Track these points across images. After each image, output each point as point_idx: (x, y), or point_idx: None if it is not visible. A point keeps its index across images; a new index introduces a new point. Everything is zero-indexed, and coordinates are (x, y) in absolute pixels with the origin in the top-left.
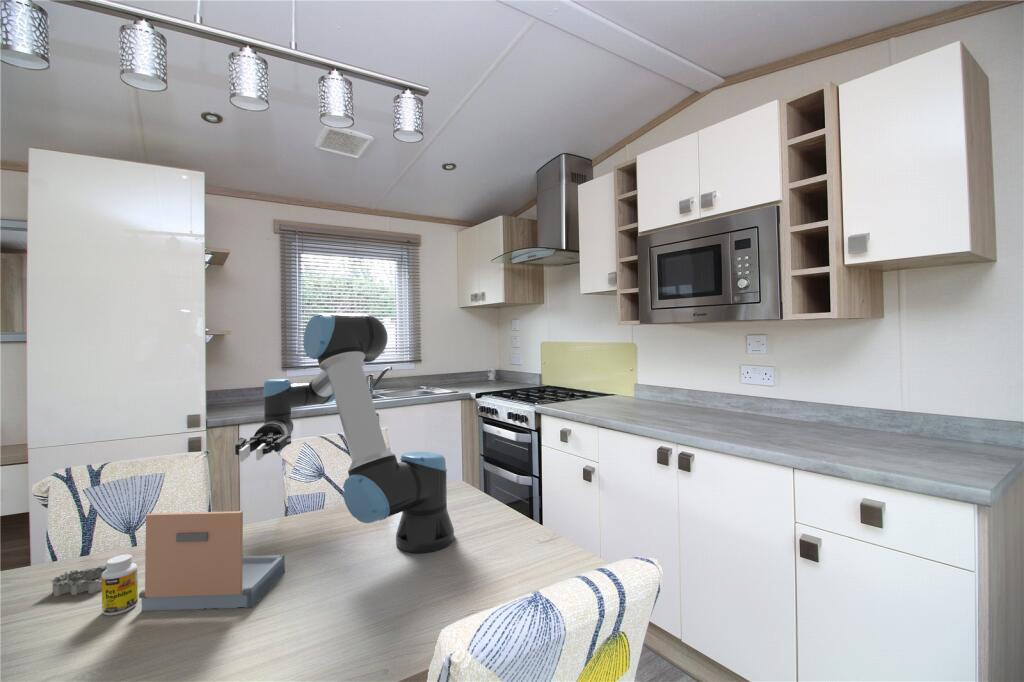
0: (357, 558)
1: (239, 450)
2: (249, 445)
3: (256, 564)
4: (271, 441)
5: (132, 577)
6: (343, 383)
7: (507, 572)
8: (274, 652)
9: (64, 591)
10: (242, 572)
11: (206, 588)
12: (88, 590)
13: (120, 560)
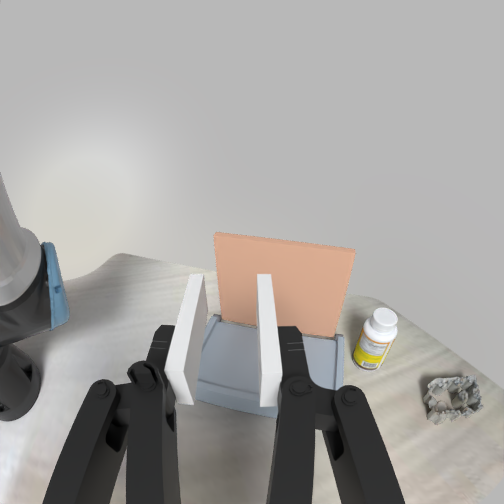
0: (87, 389)
1: (270, 275)
2: (261, 369)
3: (219, 382)
4: (129, 425)
5: (361, 331)
6: None
7: None
8: (188, 279)
9: (457, 390)
10: (220, 302)
11: None
12: (437, 395)
13: (379, 311)
